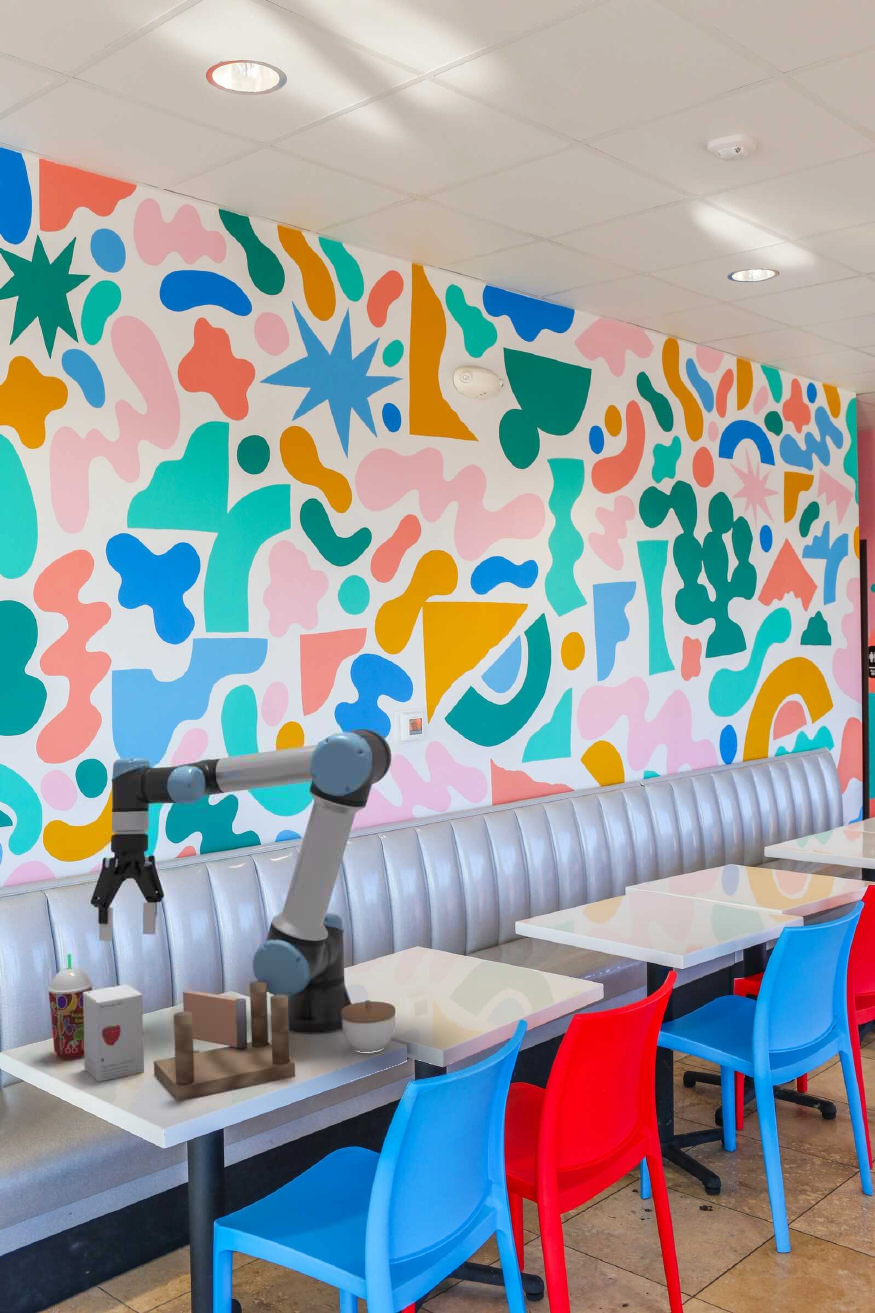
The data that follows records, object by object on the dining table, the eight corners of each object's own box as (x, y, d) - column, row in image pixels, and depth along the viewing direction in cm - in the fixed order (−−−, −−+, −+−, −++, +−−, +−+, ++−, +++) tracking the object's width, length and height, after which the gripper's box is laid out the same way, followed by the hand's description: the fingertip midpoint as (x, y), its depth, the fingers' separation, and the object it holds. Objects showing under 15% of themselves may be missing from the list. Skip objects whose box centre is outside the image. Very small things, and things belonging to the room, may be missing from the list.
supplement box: (97, 1083, 215) (95, 1002, 215) (83, 1069, 223) (81, 991, 223) (145, 1072, 220) (143, 993, 220) (130, 1059, 228) (127, 983, 228)
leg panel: (249, 1046, 225) (248, 999, 225) (242, 1049, 223) (241, 1002, 223) (190, 1034, 233) (189, 989, 233) (183, 1037, 231) (182, 992, 231)
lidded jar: (332, 1047, 231) (330, 1000, 231) (377, 1036, 237) (376, 990, 237) (360, 1062, 222) (358, 1012, 222) (407, 1049, 228) (405, 1001, 228)
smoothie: (81, 1063, 226) (77, 960, 226) (42, 1061, 228) (38, 959, 228) (102, 1048, 235) (98, 949, 235) (64, 1047, 236) (60, 948, 236)
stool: (265, 1051, 230) (262, 978, 230) (295, 1076, 216) (292, 998, 216) (154, 1074, 219) (151, 997, 219) (178, 1101, 205) (175, 1019, 205)
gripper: (153, 832, 255) (151, 931, 252) (74, 834, 233) (71, 943, 230) (181, 831, 252) (180, 932, 249) (103, 834, 230) (101, 944, 227)
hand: (127, 937), depth 240 cm, fingers open, 13 cm apart
